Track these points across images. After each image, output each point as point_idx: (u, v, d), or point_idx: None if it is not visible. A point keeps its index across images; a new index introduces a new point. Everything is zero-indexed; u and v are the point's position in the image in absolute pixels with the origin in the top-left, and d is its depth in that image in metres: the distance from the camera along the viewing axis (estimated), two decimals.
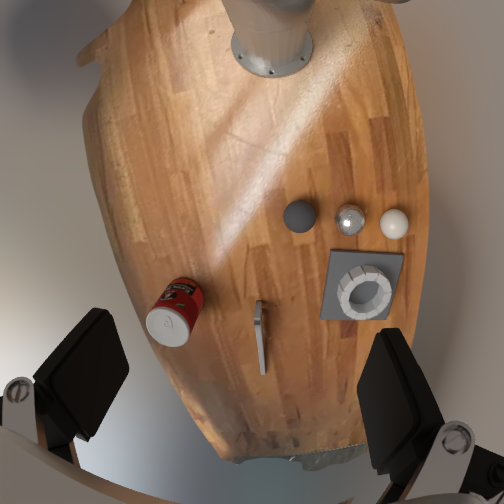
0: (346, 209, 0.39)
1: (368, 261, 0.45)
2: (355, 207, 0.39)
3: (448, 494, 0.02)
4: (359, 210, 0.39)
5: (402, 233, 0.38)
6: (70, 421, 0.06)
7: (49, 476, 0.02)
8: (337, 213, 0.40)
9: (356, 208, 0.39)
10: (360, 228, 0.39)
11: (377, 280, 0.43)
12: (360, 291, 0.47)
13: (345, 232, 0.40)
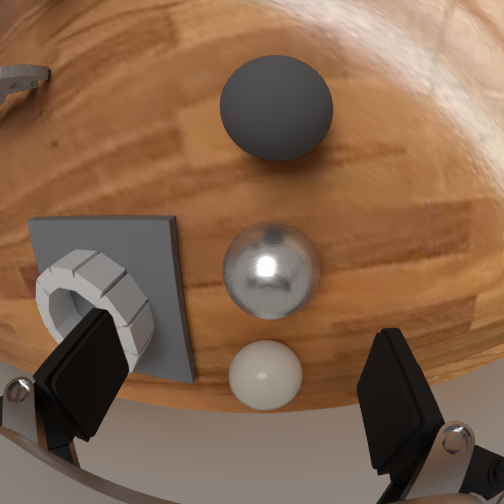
0: (313, 264, 0.12)
1: (161, 317, 0.18)
2: (316, 289, 0.13)
3: (448, 494, 0.02)
4: (308, 302, 0.13)
5: (249, 405, 0.15)
6: (70, 421, 0.06)
7: (49, 476, 0.02)
8: (294, 233, 0.13)
9: (314, 293, 0.13)
10: (254, 313, 0.13)
11: None
12: None
13: (236, 266, 0.12)
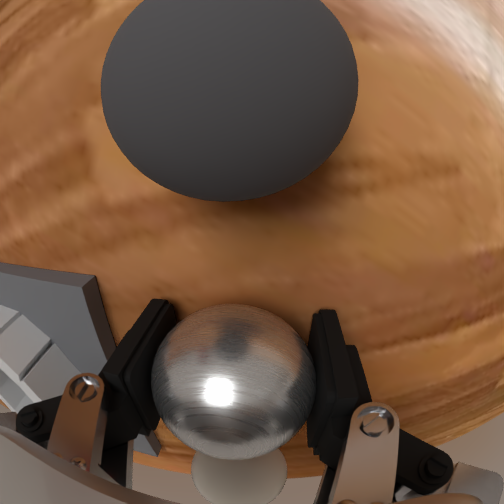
0: (303, 395, 0.06)
1: None
2: None
3: (448, 494, 0.02)
4: None
5: None
6: (137, 415, 0.06)
7: (49, 476, 0.02)
8: (270, 341, 0.06)
9: None
10: None
11: None
12: None
13: (164, 401, 0.06)
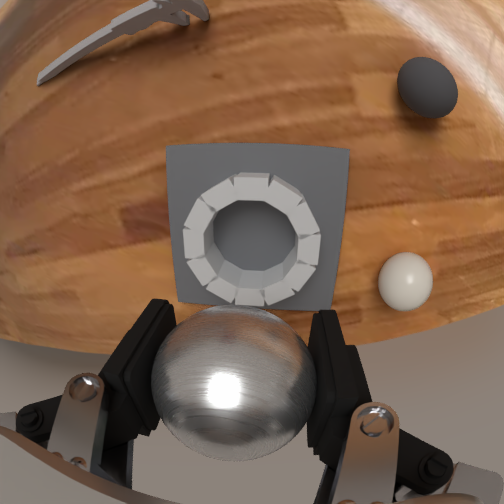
0: (304, 396, 0.06)
1: (323, 237, 0.21)
2: None
3: (448, 494, 0.02)
4: None
5: (405, 303, 0.19)
6: (137, 415, 0.06)
7: (50, 476, 0.02)
8: (270, 342, 0.06)
9: None
10: None
11: (298, 266, 0.19)
12: (246, 228, 0.22)
13: (164, 402, 0.06)
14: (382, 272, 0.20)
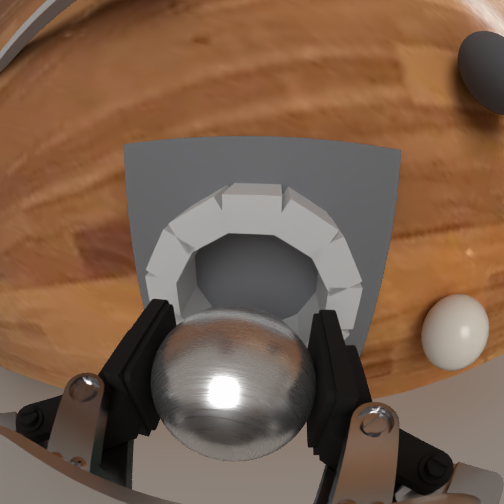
0: (303, 397, 0.06)
1: None
2: None
3: (448, 494, 0.02)
4: None
5: (456, 365, 0.11)
6: (137, 415, 0.06)
7: (50, 476, 0.02)
8: (270, 342, 0.06)
9: None
10: None
11: None
12: (245, 268, 0.14)
13: (163, 402, 0.06)
14: (430, 324, 0.13)
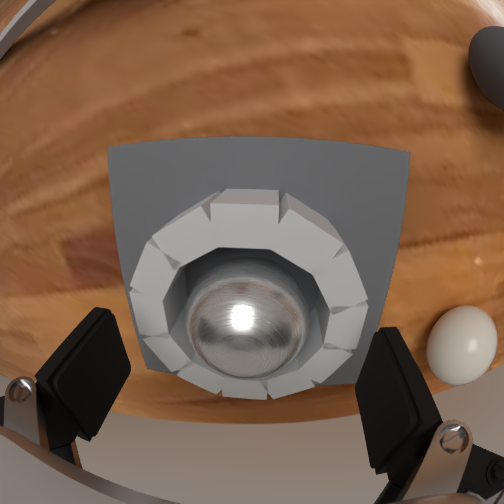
0: (299, 317, 0.09)
1: None
2: (303, 343, 0.10)
3: (448, 494, 0.02)
4: None
5: (463, 380, 0.10)
6: (72, 420, 0.06)
7: (49, 476, 0.02)
8: (275, 275, 0.10)
9: (300, 348, 0.10)
10: (224, 374, 0.10)
11: (325, 352, 0.11)
12: None
13: (198, 321, 0.09)
14: (437, 338, 0.12)
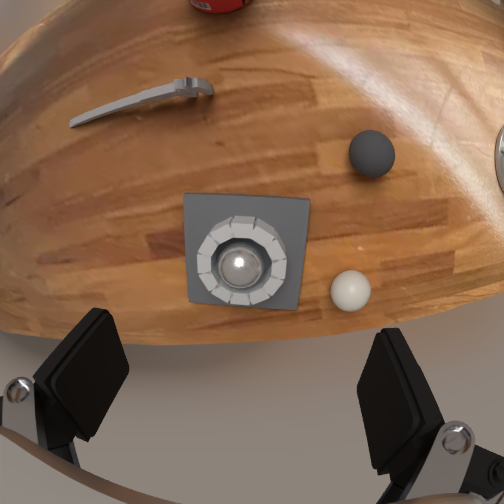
0: (257, 262, 0.28)
1: (291, 259, 0.32)
2: (260, 274, 0.29)
3: (448, 494, 0.02)
4: (256, 280, 0.29)
5: (347, 305, 0.29)
6: (70, 421, 0.06)
7: (49, 476, 0.02)
8: (250, 248, 0.28)
9: (259, 276, 0.29)
10: (231, 284, 0.28)
11: (272, 279, 0.29)
12: None
13: (223, 262, 0.28)
14: (332, 284, 0.31)
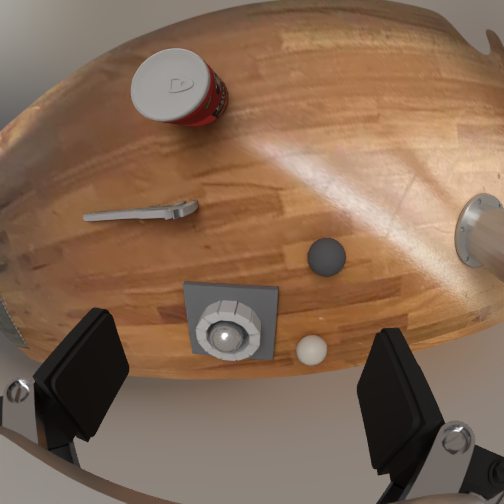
0: (237, 337, 0.38)
1: (265, 328, 0.42)
2: (240, 344, 0.39)
3: (448, 494, 0.02)
4: (237, 348, 0.39)
5: (307, 363, 0.39)
6: (70, 421, 0.06)
7: (49, 476, 0.02)
8: (231, 327, 0.38)
9: (239, 345, 0.39)
10: (219, 350, 0.39)
11: (250, 346, 0.39)
12: None
13: (213, 336, 0.38)
14: (297, 345, 0.41)
